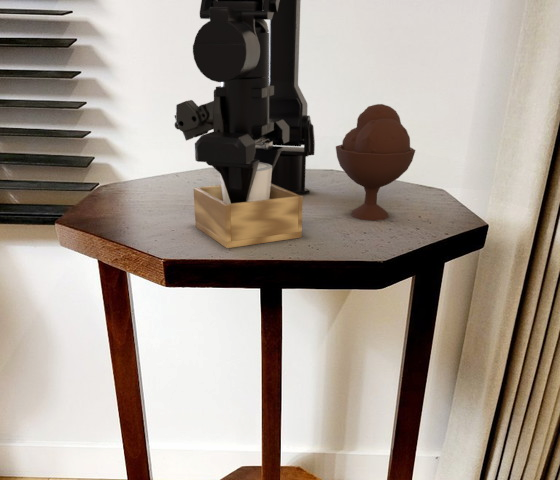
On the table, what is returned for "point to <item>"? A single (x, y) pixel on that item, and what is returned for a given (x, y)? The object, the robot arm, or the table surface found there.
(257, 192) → the white cup
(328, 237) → the table surface
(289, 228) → the box
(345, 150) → the ice cream bowl
